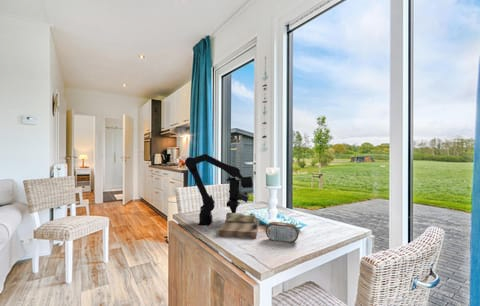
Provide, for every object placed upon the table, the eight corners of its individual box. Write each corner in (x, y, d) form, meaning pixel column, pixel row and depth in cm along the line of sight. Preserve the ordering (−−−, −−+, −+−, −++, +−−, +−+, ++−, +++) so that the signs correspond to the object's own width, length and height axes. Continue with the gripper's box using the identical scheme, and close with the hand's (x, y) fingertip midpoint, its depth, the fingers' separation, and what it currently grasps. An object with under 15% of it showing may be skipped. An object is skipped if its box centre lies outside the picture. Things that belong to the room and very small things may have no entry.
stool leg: (226, 220, 128) (226, 213, 128) (227, 218, 131) (227, 211, 131) (254, 222, 126) (254, 214, 125) (255, 220, 129) (255, 213, 129)
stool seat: (218, 236, 114) (218, 226, 114) (228, 222, 136) (228, 213, 136) (256, 238, 111) (256, 228, 111) (259, 223, 133) (259, 215, 133)
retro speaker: (298, 241, 108) (298, 223, 108) (298, 244, 105) (298, 225, 105) (266, 238, 112) (266, 220, 112) (265, 240, 109) (265, 222, 109)
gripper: (247, 191, 125) (247, 221, 125) (249, 186, 143) (249, 211, 144) (226, 191, 126) (226, 220, 126) (231, 185, 144) (231, 211, 145)
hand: (234, 215), depth 135 cm, fingers closed
